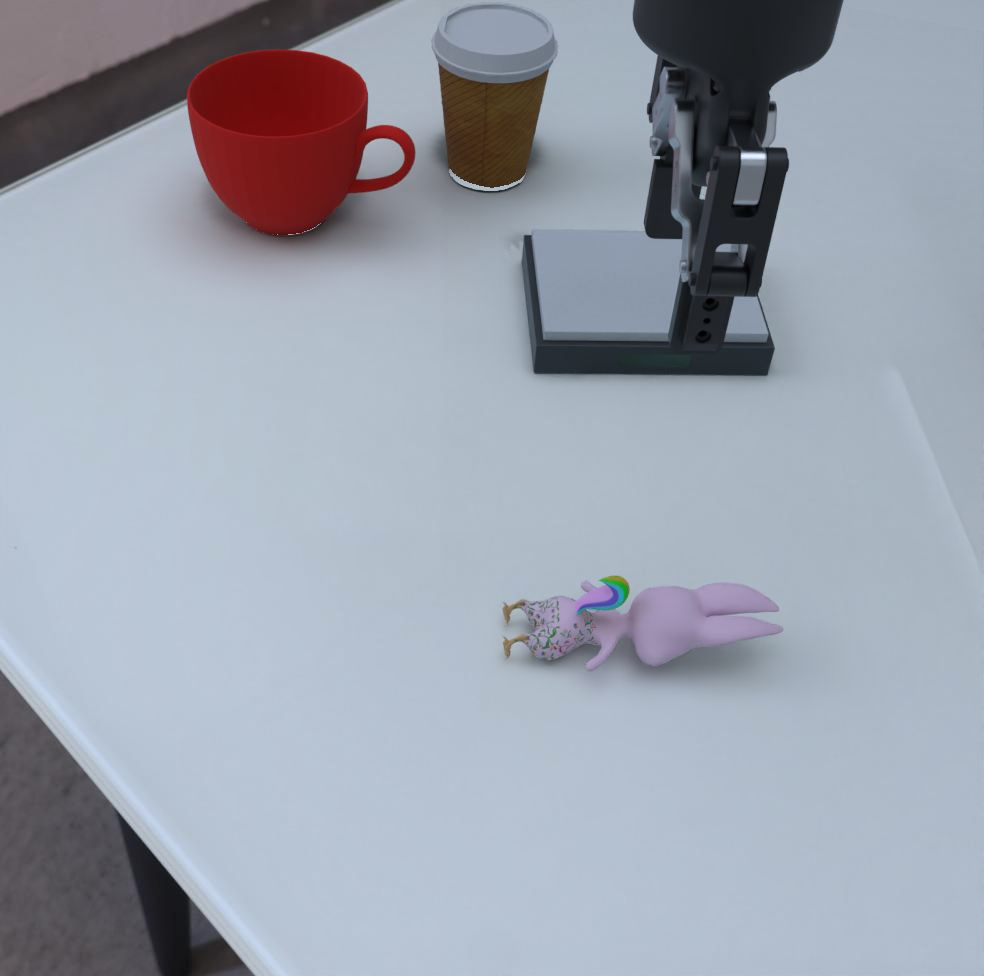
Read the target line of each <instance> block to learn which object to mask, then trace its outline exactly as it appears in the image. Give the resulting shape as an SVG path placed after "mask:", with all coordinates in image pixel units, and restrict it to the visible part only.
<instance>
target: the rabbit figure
mask: <svg viewBox="0 0 984 976" xmlns="http://www.w3.org/2000/svg"><path fill="white" fill-rule="evenodd" d="M597 581H598V582H601V583H603V584H604V585H602V586H599V587H597V586H595V585H594V584H593V583H592V582H591V581H588V580H583V581H582V582H581V583H580V588H581V590H582V591H584V592H585V593H584V594H583V595H582V596H580V597H579V598H578V599H574V598H572V597H568V596H563V595H556V596H553V597H549V598H547V599H544V600H539V601H538V600H537V601H530V600H528V599H525V598H521V599H519V600H518V601H517V602H515V603H512V604H510V605H508V604H507V602H505V601H501V603H502V604H503V605H504V606H503V607H502V614H503V618H504V620H505V624H504V627H506V626H508V625H509V622H510V621H511V616H510V615H511V614H512V612H513V611H514V610H516V609H520V610H522V611H523V613H524V614H525V616H526V618H527V621H528V624H529V626H530V627H531V629H532V630H533V631H532V632H529V633H527V634H525V633H522V634H520V635H518V636H516V637H514V638H511V639H508V638H507V637H506V636H505V635H501V637H502V638H503V639H504V640H503V641H502V646H503V652H504V653H503V654H504V655H505V656H506V657H505V658H504V660H505V661H506V660H509V658H510V656H511V652H512V651H511V648H512V646H513V645H514V644H516V643H519V642H520V643H521V642H522V643H523V644H524V645H526V647H527V648H528V649H529V650H530V652H531V653H532V655H533V656H534V657H535V658H537V659H538V660H542V661H554V660H558V659H559V658H561V657H563V656H565V655H566V654H569V653H570V652H572V651H573V650H575V649H577V648H578V647H580V646H582V645H586V644H590V645H594V646H600V650H599V651H598V653H597V655H596V656H595V657H592V658H591V659H589V660H588V661H587V662H586V663H585V669H586V671H588V672H593V671H595V670H596V669H597V668H599V667H600V666H601V665H602V664H604V663H605V661H607V659H608V658H609V657H610V656H611V655H612V654H613V651H614V650H615V648H616V647H617V645H618V642H619V640H620V639H622V638H623V637H627V638H629V641H630V643H631V644H632V645H634V647H635V652H636V655H637V657H638V658H639V660H640V661H642V662H643V664H645V665H648V666H651V667H658V666H661V665H664V664H666V663H668V662H669V661H672V660H674V659H677V658H679V657H681V656H683V655H684V654H686V653H688V652H690V651H692V650H694V649H696V648H715V647H716V648H717V647H723V646H727V645H732V644H736V643H739V642H742V641H748V640H753V639H758V638H763V637H769V636H776V635H779V634H781V633H782V632H783V631H784V627H783V626H781V625H778V624H775V623H772V622H768V621H765V620H762V619H759V618H756V617H752V616H737V615H739V614H760V613H778V612H779V611H780V607H779V606H778V604H776V602H774V601H773V600H772V599H770V597H768V596H766V595H765V594H764V593H763V592H761V591H759V590H757V589H756V588H753V587H751V586H749V585H746V584H742V583H736V582H712V583H706V584H704V585H701V586H700V587H698V588H696V589H689V588H686V587H682V586H676V585H665V586H664V585H663V586H655V587H648V588H645V589H643V590H642V591H640V592H639V593H638V594H637V595H635V597H634V599H633V601H632V602H631V604H630V607H629V610H628V612H627V613H624V614H623V613H619V612H618V611H617V608H619V607H621V606H622V605H623V604H624V603H626V601H627V600H628V598H629V596H630V590H631V589H630V584H629V582H628V581H627V579H626V578H625V577H624V576H621V575H609V576H604V577H602V578H600V579H598V580H597ZM589 610H593V611H594V612H593V611H589ZM595 611H596V612H595Z"/></svg>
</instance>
